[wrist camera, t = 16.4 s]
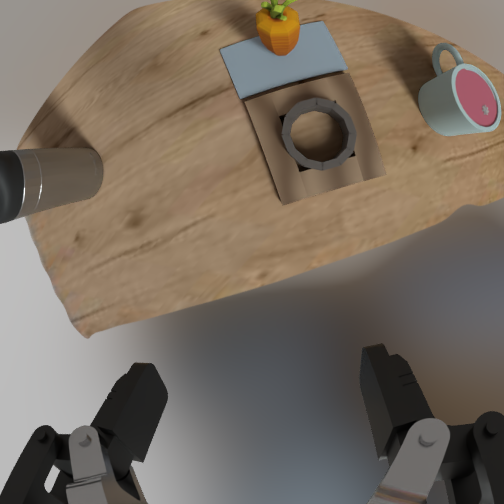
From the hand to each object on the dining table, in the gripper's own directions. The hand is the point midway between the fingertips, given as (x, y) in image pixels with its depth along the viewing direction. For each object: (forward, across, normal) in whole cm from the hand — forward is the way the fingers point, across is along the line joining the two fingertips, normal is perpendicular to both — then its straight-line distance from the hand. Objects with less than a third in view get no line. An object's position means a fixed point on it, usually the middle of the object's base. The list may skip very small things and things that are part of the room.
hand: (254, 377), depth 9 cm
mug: (+30, -29, -16) cm, 45 cm away
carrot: (+31, -6, -22) cm, 38 cm away
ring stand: (+30, -8, -9) cm, 33 cm away
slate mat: (+31, -6, -22) cm, 39 cm away
